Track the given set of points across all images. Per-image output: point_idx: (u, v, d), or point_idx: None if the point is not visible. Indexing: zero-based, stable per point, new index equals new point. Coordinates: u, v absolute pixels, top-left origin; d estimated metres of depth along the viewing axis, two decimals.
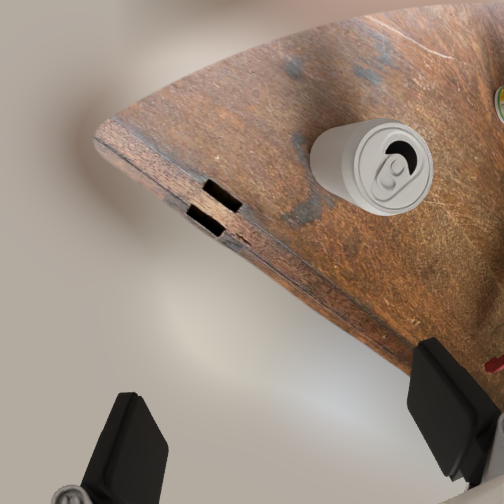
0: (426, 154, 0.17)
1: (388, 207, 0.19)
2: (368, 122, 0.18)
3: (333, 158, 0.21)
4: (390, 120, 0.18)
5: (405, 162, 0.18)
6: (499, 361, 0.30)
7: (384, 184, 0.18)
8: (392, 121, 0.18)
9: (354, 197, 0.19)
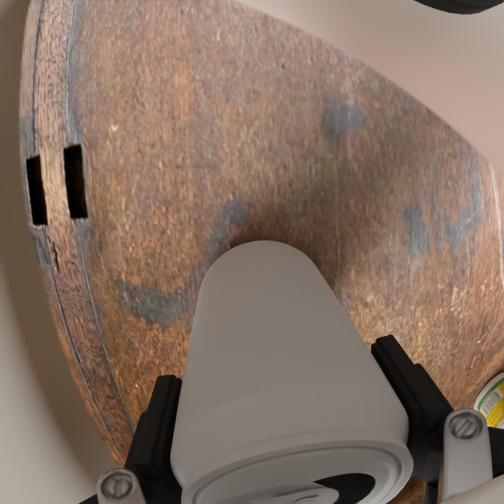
0: (377, 503, 0.06)
1: None
2: (360, 391, 0.06)
3: (217, 353, 0.08)
4: (400, 416, 0.06)
5: (329, 503, 0.06)
6: None
7: None
8: (400, 421, 0.06)
9: (173, 468, 0.07)
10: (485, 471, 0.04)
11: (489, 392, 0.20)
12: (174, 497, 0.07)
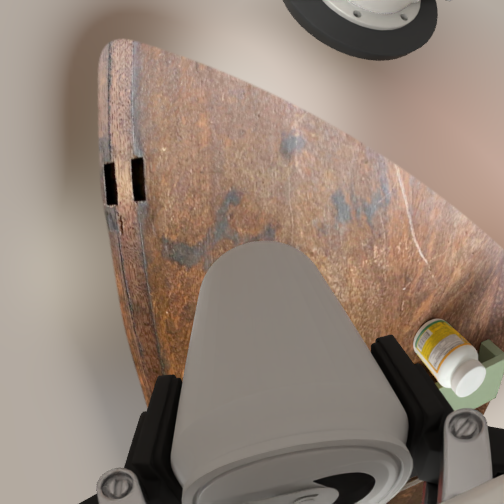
0: (376, 503, 0.06)
1: None
2: (360, 391, 0.06)
3: (217, 353, 0.08)
4: (399, 416, 0.06)
5: (329, 502, 0.06)
6: None
7: None
8: (400, 421, 0.06)
9: (174, 467, 0.07)
10: (485, 471, 0.04)
11: (422, 332, 0.32)
12: (174, 498, 0.07)
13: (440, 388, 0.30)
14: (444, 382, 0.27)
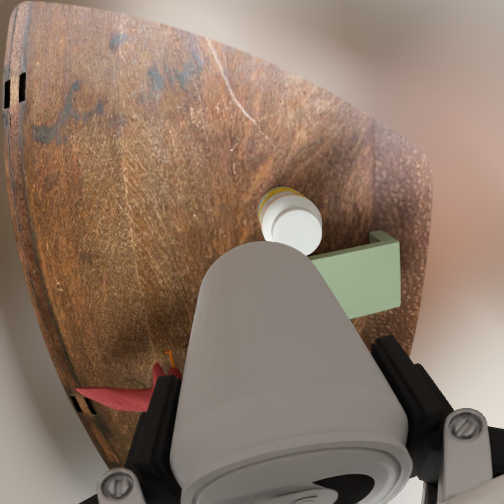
0: None
1: None
2: (360, 392, 0.06)
3: (217, 354, 0.08)
4: (399, 417, 0.06)
5: (329, 503, 0.06)
6: None
7: None
8: (400, 422, 0.06)
9: (173, 468, 0.07)
10: (485, 471, 0.04)
11: (262, 199, 0.33)
12: (174, 498, 0.07)
13: None
14: (270, 240, 0.28)
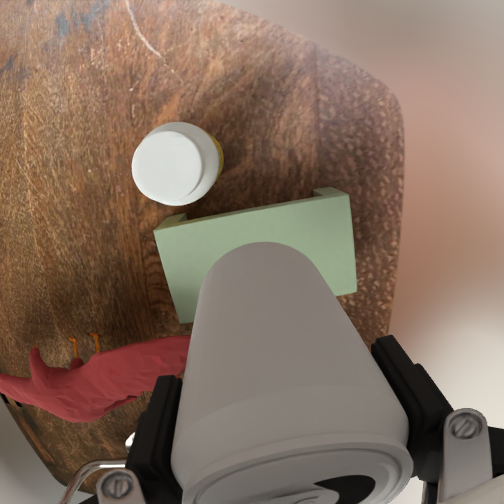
0: None
1: None
2: (361, 394, 0.06)
3: (218, 355, 0.08)
4: (400, 418, 0.06)
5: None
6: None
7: None
8: (400, 423, 0.06)
9: (174, 469, 0.06)
10: (485, 471, 0.04)
11: None
12: (174, 498, 0.07)
13: (184, 225, 0.22)
14: None
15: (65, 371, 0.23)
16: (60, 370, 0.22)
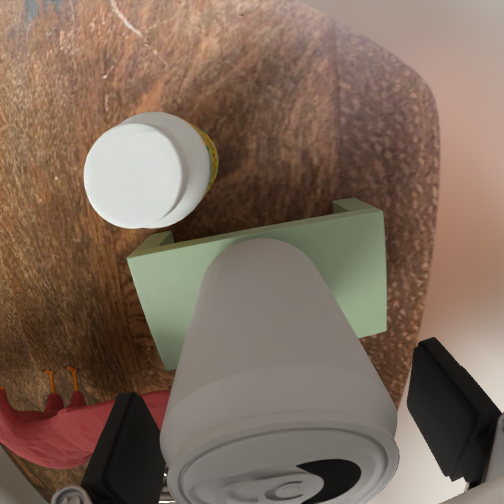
0: (365, 495, 0.06)
1: None
2: (343, 375, 0.06)
3: (208, 339, 0.08)
4: (385, 404, 0.06)
5: (315, 491, 0.06)
6: None
7: (233, 492, 0.06)
8: (386, 409, 0.06)
9: (162, 449, 0.07)
10: None
11: None
12: None
13: (166, 251, 0.17)
14: None
15: (36, 417, 0.17)
16: (30, 416, 0.17)
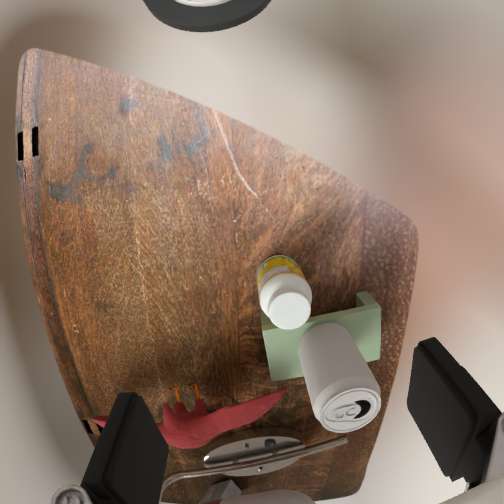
0: (372, 416, 0.25)
1: (326, 423, 0.25)
2: (366, 378, 0.25)
3: (327, 369, 0.27)
4: (376, 385, 0.25)
5: (358, 412, 0.25)
6: None
7: (337, 413, 0.25)
8: (376, 387, 0.25)
9: (316, 403, 0.26)
10: None
11: (261, 266, 0.38)
12: None
13: None
14: (266, 311, 0.32)
15: (188, 416, 0.36)
16: (185, 416, 0.35)
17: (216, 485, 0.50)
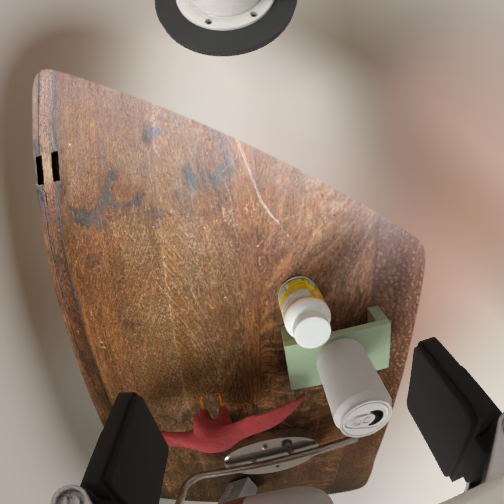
0: (384, 422, 0.28)
1: (345, 430, 0.28)
2: (379, 391, 0.28)
3: (346, 384, 0.30)
4: (388, 397, 0.28)
5: (372, 420, 0.28)
6: None
7: (354, 421, 0.28)
8: (388, 398, 0.28)
9: (336, 414, 0.29)
10: None
11: (282, 287, 0.40)
12: None
13: None
14: (290, 331, 0.35)
15: (215, 424, 0.39)
16: (212, 424, 0.39)
17: (234, 483, 0.54)
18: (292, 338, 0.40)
